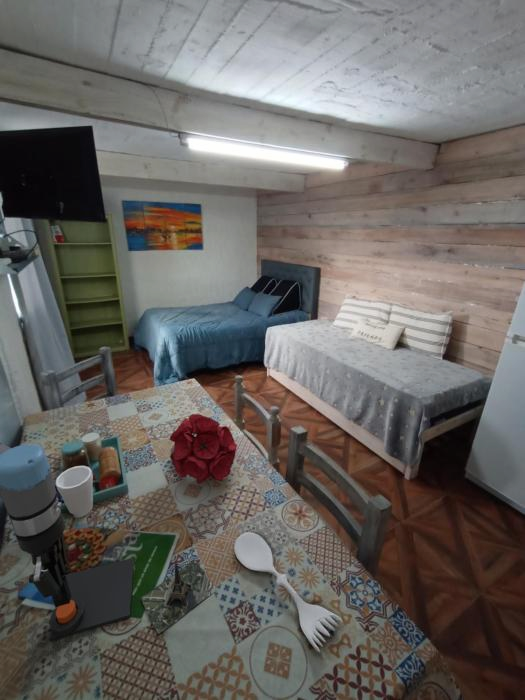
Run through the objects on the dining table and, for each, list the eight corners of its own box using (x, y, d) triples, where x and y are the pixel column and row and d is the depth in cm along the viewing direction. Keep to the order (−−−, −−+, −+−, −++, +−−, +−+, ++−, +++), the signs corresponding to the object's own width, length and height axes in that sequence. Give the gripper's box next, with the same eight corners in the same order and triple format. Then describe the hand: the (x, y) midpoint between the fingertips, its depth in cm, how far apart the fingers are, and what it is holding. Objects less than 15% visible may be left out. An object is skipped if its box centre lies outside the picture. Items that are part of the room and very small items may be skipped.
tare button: (55, 626, 68) (53, 620, 67) (60, 608, 71) (58, 602, 71) (74, 620, 69) (72, 615, 68) (78, 603, 72) (76, 597, 72)
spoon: (317, 661, 66) (319, 652, 64) (227, 550, 88) (227, 541, 87) (343, 628, 71) (344, 619, 70) (252, 532, 94) (252, 523, 92)
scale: (48, 643, 67) (45, 635, 66) (66, 577, 80) (63, 569, 79) (130, 619, 72) (128, 611, 71) (134, 560, 85) (133, 552, 84)
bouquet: (159, 493, 114) (208, 498, 94) (140, 431, 115) (183, 423, 95) (205, 466, 131) (255, 465, 111) (188, 411, 131) (234, 401, 111)
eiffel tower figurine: (195, 559, 85) (193, 523, 80) (216, 590, 78) (215, 552, 73) (140, 599, 76) (134, 560, 71) (158, 638, 69) (153, 598, 64)
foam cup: (87, 493, 105) (80, 461, 101) (104, 505, 101) (98, 473, 96) (58, 513, 98) (49, 480, 93) (75, 527, 93) (66, 493, 89)
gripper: (50, 546, 55) (75, 629, 64) (69, 491, 67) (88, 568, 75) (0, 558, 53) (32, 642, 62) (28, 499, 65) (52, 576, 73)
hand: (63, 601), depth 69 cm, fingers closed
